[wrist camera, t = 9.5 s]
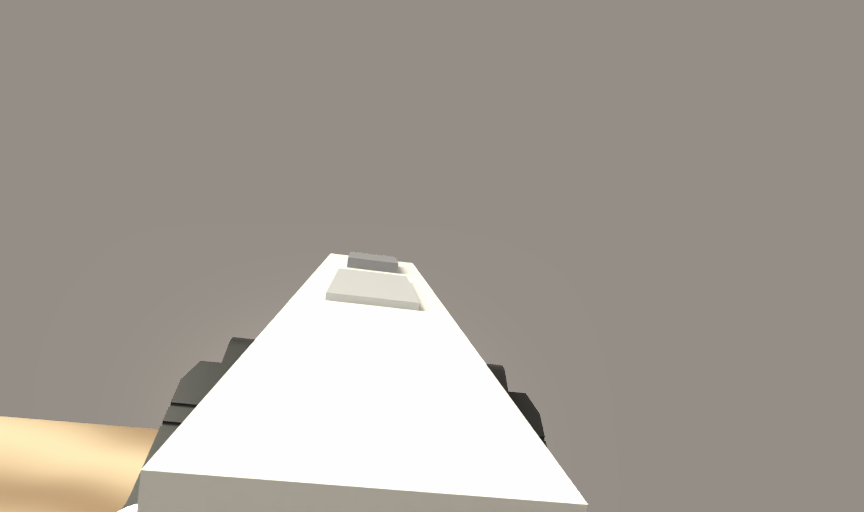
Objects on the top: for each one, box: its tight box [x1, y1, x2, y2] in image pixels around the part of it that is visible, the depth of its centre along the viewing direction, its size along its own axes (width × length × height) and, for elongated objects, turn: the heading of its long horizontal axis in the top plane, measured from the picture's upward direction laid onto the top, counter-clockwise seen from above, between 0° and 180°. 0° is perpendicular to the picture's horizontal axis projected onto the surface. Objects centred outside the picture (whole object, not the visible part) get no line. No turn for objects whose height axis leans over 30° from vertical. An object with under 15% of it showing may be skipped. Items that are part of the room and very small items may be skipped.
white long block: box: [137, 252, 588, 512], centre depth 17 cm, size 24×4×5 cm, turn 6°
